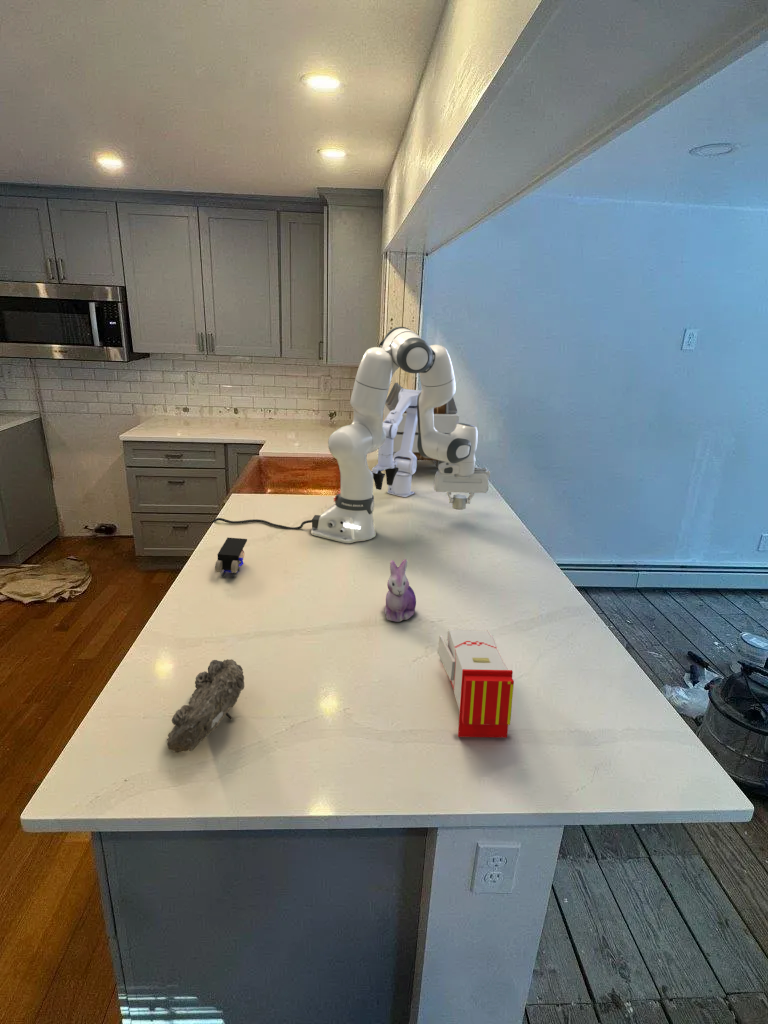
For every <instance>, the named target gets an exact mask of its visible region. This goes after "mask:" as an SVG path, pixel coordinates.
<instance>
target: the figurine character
mask: <svg viewBox="0 0 768 1024" xmlns="http://www.w3.org/2000/svg"><path fill="white" fill-rule="evenodd" d="M247 542H248V538H240V537H226V539H225V541H224V543H223V544H222V546H221V547H220V549H219V551H218V552H217V560H216V562H215V564H214V572H215V573H221V577H222V578H224V577H225V576H226V574H227V573H230V574H231V573H232V574H231V578H234V577H235V575H236V573H237V572H239V571H240V567H242V566H243V565H244V564H245V562H244V558H245V551H244V547H245V546H246V544H247Z"/></svg>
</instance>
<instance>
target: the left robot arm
mask: <svg viewBox="0 0 768 1024" xmlns="http://www.w3.org/2000/svg"><path fill="white" fill-rule="evenodd" d="M398 369H401V370H402V371H404V372H406V373H408V374H419V380H420V386H421V390H420V391H421V392H420V393H419V395H418V398H417V419H418V440H417V448H418V451H419V453H420V455H421V456H423V457H425V458H431V459H436V460H440V461H444V463H440V464H439V465H438V468H437V469H438V470H437V471H436V472H435V475H434V479H433V487H432V488H433V490H434V491H435V492H437V493H446V496H447V497H448V504H452V503H453V501H454V499H453V497H451V495H452V493H465V494H466V493H467V494H468V493H469V495H468V496H467V499H466V505H467V504H468V505H471V501H472V499H473V498H474V496H475V494H487V492H488V491H489V479H490V477H491V471H490V469H488V468H487V467H476V464H477V463H476V461H477V459H476V454H477V451H478V443H479V432H478V427H477V426H476V425H474V424H470V423H465V422H459V423H458V424H457V425H456V428H455V430H454V431H453V432H452V433H450V434H444V433H440V432H438V431H437V430H436V429H435V428H434V408H436V407H440V406H442V405H444V404H446V403H447V402H449V401H450V400H451V399H452V398H454V396H455V395H456V390H457V384H456V377H455V371H454V367H453V362H452V360H451V356H450V354H449V351H448V349H447V348H446V347H445V346H443V345H441V344H430V345H429V344H428V342H427V341H425V340H424V339H423V338H422V337H421V336H420V335H419V334H418V333H417V332H415V331H414V330H412V329H410V328H408V327H406V326H396V327H393V328H391V329H390V330H389V331H388V332H387V333H386V335H385V336H384V338H383V339H382V340H381V341H380V342H379V345H378V346H374V347H370V348H368V349H366V351H365V352H364V354H363V356H362V358H361V361H360V362H359V365H358V368H357V372H356V375H355V378H354V384H353V387H352V391H351V396H350V400H349V403H350V406H351V407H352V410H353V419H352V422H351V424H347V425H343V426H340V427H339V428H337V429H336V430H334V431H333V432H332V433H331V434H330V435H329V437H328V441H327V448H328V450H329V451H328V452H329V453H330V454H331V456H332V458H334V459H335V460H336V462H337V465H338V469H339V476H340V480H339V481H340V488H339V489H340V490H339V491H338V492H337V494H336V495H335V496H334V497H333V502H334V504H333V505H331V506H329V507H328V508H326V509H325V510H323V512H321V514H314V515H313V517H312V519H307V520H304V521H302V522H301V523H300V525H299V526H296V527H294V526H293V527H290V526H286V525H282V524H277V523H273V522H271V521H268V520H265V519H256V518H255V519H245V520H229V519H226V518H223V517H217V518H213V520H212V521H211V523H215V522H217V521H221V522H225V523H228V524H232V525H233V524H234V525H236V524H246V523H247V524H248V523H262V524H266V525H269V526H271V527H274V528H275V527H276V528H279V529H284V530H301V529H302V528H303V527H304V525H306V524H310V523H311V530H310V533H311V536H315V537H319V538H323V539H326V540H330V541H336V542H339V543H343V544H352V543H357V542H365V541H368V540H372V539H373V538H375V537H376V535H377V532H376V528H375V523H374V513H373V512H374V509H375V496H374V479H373V473H372V469H370V468H369V464H368V461H367V460H368V459H367V458H368V454H371V453H373V452H376V451H377V450H378V449H379V448H380V447H381V446H382V445H383V443H384V442H385V439H386V431H385V429H384V427H383V422H384V406H385V402H386V399H387V397H388V395H389V390H390V386H391V384H392V383H391V382H392V378H393V376H394V374H395V373H396V371H397V370H398Z"/></svg>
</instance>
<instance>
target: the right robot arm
mask: <svg viewBox="0 0 768 1024" xmlns="http://www.w3.org/2000/svg"><path fill="white" fill-rule="evenodd" d="M420 392H421V390H420V389H419V390H418V389H411V388H410V389H409V388H404V387H403V388H402V389H401V390H400V392H399V395H398V400H399V402H398V404H397V406H396V408H395V410H392V411H390V413H389V414H388V416H387V417H386V419H385V420H384V419H383V427H384V429H385V431H386V439H385V442H384V443H383V445H382V446H381V447H380V448H378V449H377V450H378V451H377V464H376V465H375V466H374V467H372V468H371V471H372V473H373V483H374V486H375V489H376V490H377V491H381V490H382V488H383V482H384V478H385V477H386V479H385V481H386V485H387V491H386V493H387V494H389V495H393V496H398V497H401V498H407V497H409V496H413V495H414V494H415V491H412V479H413V477H412V476H413V475H414V474H415V473H416V472H417V469H418V468H417V467H418V464H417V462H418V460H417V457H416V456H415V455H414V454H413V453H412V448H413V442H414V437H415V431H416V426H417V421H418V419H417V398H418V395H419V393H420ZM405 411H406V412H407V416H406V422H405V427H404V433H403V438H402V443H401V449H400V450H399V451H398V452H396V453H395V454H394V456H393V443H394V438H395V437H396V434H397V430H398V426H399V424H400V422H401V421H402V419H403V416H402V414H403V413H404V412H405ZM401 457H404V458H410V459H411V460H410V459H404V458H401ZM383 471H384V472H385V473H383Z"/></svg>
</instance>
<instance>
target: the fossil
mask: <svg viewBox="0 0 768 1024" xmlns="http://www.w3.org/2000/svg"><path fill="white" fill-rule="evenodd" d="M243 670H244V669H243V667H242V665H240V664H237V662H236V661H235V660H234V659H232V658H231V659H227V658H226V659H224V660H223V661H222V660H217V659H212V660H211V661H210V663H209V665H208V666H207V671H201V672H199V673H198V674H197V675H196V676H195V680H194V684H195V685H194V687H195V689H194V690H193V693H192V694H191V697H190V698H189V700H188V704H184V705H182V706H181V707H180V709H177V710H176V711H175V713H174V715H173V716H172V718H171V723H172V724H173V727H172V730H171V731H170V732H168V734H167V738H166V741H167V742H166V745H167V749H168V750H169V751H173V752H174V753H176V754H178V753H182V752H188V751H189V752H192V751H193V750H195V748H196V747H197V746H199V744H200V743H201V742H203V741H204V740H205V739H206V738H207V737H208V736H209V735H210V734H211V733H212V732H214V730H215V729H217V727H218V726H219V724H220V722H221V721H222V720H223V719H224V718H225V716H226V717H227V719H229V720H233V717H232V715H230V714H229V710H230V709H231V708H234V706H235V704H236V703H237V702H238V699H239V697H240V695H241V693H242V691H243V690H245V689H244V688H245V675H244V671H243Z"/></svg>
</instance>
